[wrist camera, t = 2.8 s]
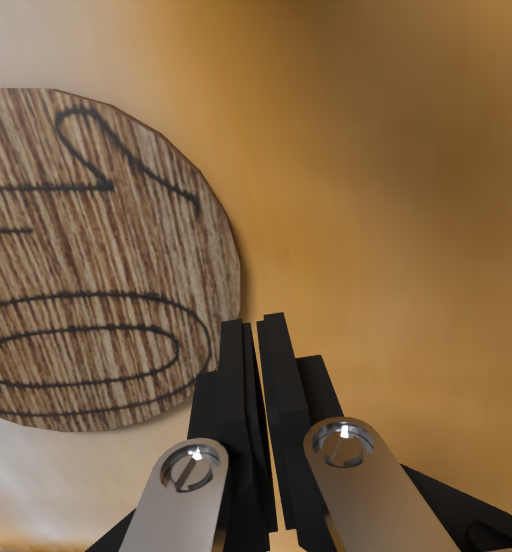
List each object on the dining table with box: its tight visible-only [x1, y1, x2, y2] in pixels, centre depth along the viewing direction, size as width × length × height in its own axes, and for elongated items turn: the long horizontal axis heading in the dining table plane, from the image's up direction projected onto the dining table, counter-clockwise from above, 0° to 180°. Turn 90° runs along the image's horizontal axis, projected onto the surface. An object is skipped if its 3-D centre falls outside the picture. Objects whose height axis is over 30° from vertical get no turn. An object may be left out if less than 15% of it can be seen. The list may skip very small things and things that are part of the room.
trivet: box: [0, 88, 240, 432], centre depth 28 cm, size 25×25×2 cm
